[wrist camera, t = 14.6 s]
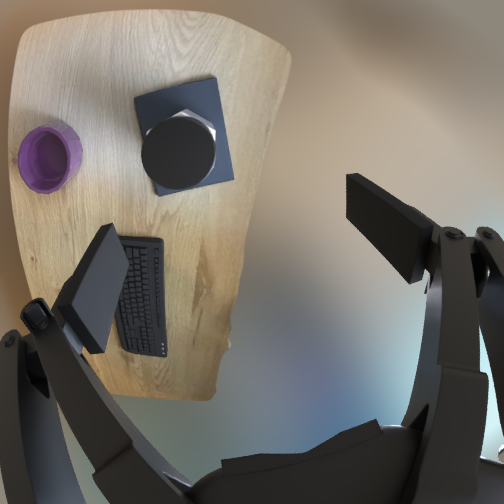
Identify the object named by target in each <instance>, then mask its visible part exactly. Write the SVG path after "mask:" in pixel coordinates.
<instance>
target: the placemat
mask: <svg viewBox="0 0 504 504" xmlns="http://www.w3.org/2000/svg"><path fill="white" fill-rule="evenodd" d="M134 100H135V105H136V110H137V114H138V119H139V123H140V128H141V132H142V136H143V140H145V138H146V136H147V131H149V130H150V129H151V128H153V127H154V126H155V125H156V124H157V123H159V122H162V121H163V120H165V119H167V118H169V117H171V116H173V115H174V114H176V113H178V112H180V111H181V110H183V109H185V108H187V109H188V110H190V111H192V112H194V113H196V114H197V115H199V116H201V117H203V118H204V119H206V120H208V121H210V122H211V123H212V124H213V126H214V129H215V143H216V149H217V156H216V161H215V165H214V168H213V169H212V171H211V173H210V174H209V175H208V176H207V178H206V179H205V180H203V181H202V182H201V183H200V184H198V185H196V186H194V187H192V188H189V189H193V188H197V187H201V186H206V185H211V184H215V183H220V182H225V181H230V180H234V175H233V169H232V163H231V158H230V152H229V146H228V141H227V135H226V129H225V124H224V118H223V112H222V107H221V101H220V95H219V90H218V84H217V78H211V79H206V80H201V81H196V82H191V83H186V84H182V85H178V86H174V87H170V88H166V89H162V90H158V91H155V92H151V93H148V94H144V95H141V96H138V97H134ZM155 186H156V189H157V193H158V196H163V195H167V194H172V193H176V192H180V191H184V190H188V189H184V190H171V189H167V188H164V187H162V186H160V185H158V184H156V183H155Z"/></svg>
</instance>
